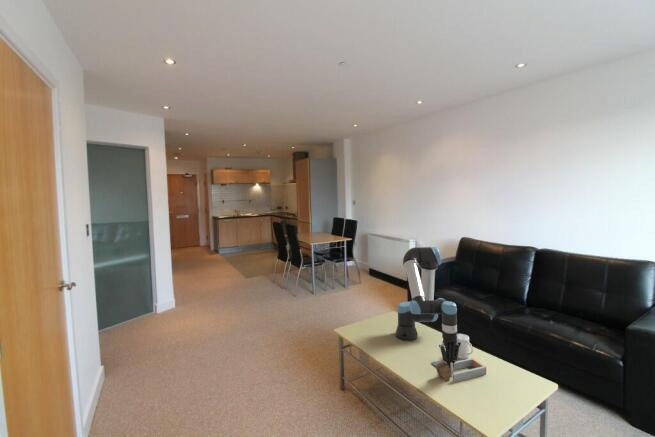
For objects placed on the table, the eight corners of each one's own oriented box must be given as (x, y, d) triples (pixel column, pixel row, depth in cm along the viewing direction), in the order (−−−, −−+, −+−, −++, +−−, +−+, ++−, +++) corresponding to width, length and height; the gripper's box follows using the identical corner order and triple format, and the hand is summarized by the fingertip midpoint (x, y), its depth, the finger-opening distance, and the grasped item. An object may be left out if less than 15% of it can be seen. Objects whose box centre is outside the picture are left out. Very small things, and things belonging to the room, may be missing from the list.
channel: (441, 371, 177) (441, 364, 177) (472, 364, 183) (472, 357, 183) (454, 382, 167) (454, 374, 167) (486, 374, 173) (486, 367, 173)
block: (439, 376, 173) (435, 365, 172) (446, 371, 174) (442, 360, 173) (444, 381, 168) (440, 370, 167) (452, 376, 169) (448, 365, 168)
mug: (477, 359, 188) (477, 340, 187) (465, 363, 185) (465, 343, 184) (462, 351, 199) (462, 332, 198) (451, 353, 196) (451, 335, 195)
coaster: (431, 363, 186) (431, 362, 186) (442, 360, 188) (442, 359, 188) (439, 370, 178) (439, 369, 178) (451, 367, 181) (451, 366, 180)
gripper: (444, 335, 165) (445, 379, 166) (464, 331, 169) (465, 374, 170) (435, 330, 172) (436, 372, 173) (454, 326, 176) (455, 367, 177)
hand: (450, 373), depth 172 cm, fingers closed
